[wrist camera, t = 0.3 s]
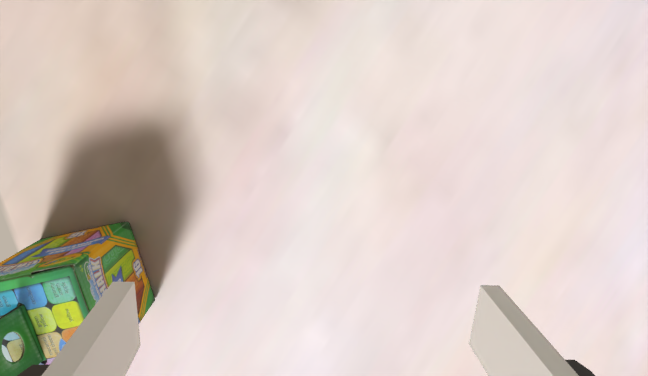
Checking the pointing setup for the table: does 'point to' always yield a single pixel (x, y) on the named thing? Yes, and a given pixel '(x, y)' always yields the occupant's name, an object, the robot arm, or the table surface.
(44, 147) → the table surface
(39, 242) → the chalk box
